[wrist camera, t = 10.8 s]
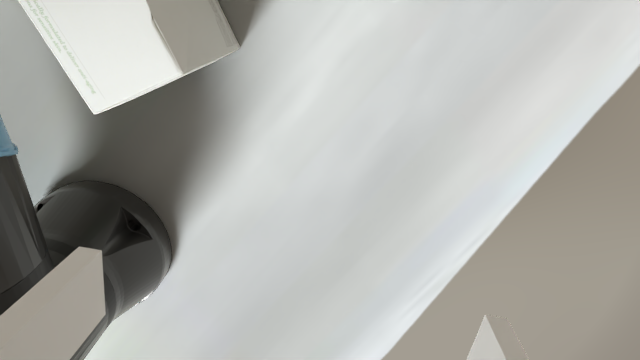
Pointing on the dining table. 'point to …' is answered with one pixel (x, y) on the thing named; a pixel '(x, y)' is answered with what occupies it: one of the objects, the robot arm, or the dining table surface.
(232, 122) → the dining table surface
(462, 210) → the dining table surface
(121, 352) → the dining table surface
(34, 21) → the skincare box
